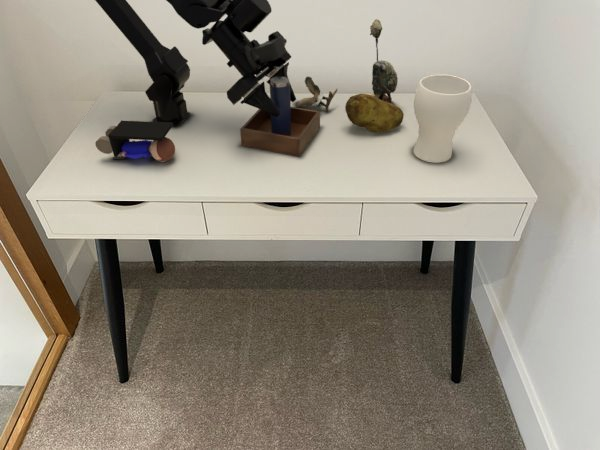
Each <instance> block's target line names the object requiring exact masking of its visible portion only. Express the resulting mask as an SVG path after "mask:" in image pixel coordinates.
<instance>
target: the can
mask: <svg viewBox="0 0 600 450" xmlns="http://www.w3.org/2000/svg"><path fill="white" fill-rule="evenodd" d="M290 84H291V82H290V79H289V77H288V78H287V77H284V76H277V77H273V78H271V80H270V85H269V97H270V99H271V100H272V102H273V103H274V104H275V106H276V107H277V109H278V110H279V112H280V115H279V116H278V117H276V116H273V115H271V129H272V133H274V134H280V135H285V136H290V135H291V107H292V106H291V104H292V102H291V101H290Z"/></svg>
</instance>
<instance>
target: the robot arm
mask: <svg viewBox="0 0 600 450" xmlns="http://www.w3.org/2000/svg"><path fill="white" fill-rule="evenodd" d="M94 1H95V2H96V4H98V6H99V7H100V8H101V9H102V11H103V12H104V13H105V14H106V15H107V16H108V18H109V19H110V20H111V21H112V23H113V24H114V25H115V26H116V28H118V30H119V31H120V32H121V33H122V34H123V36H124V37H125V38H126V39H127V40H128V42H129V43H130V45H131V46H132V47H133V48H134V49H135V50H136V51H137V52H138V54H139V55H140V57H141V58H142V59H143V60H144V64H145V68H146V71H147V74H148V76H149V77H150V80H151V81H152V83H151V84H150V86H148V87H147V89H146V90H145V95H146V97H147V99H148V100H149V101H150V102H152V104H153V108H154V113H155V117H154V118H153V119H152V120H151V122H173V126H172V127H178V126H180V125H181V124H182V123H183V122H184V121H185V120H187V119H188V118H189V117H190V116H191V112H189V111H188V106H187V101H186V99H185V98H184V92H182V91H181V90H182V89H183V88H185V84H186V82H188V80H189V79H190V76H191V68H190V66H189V64H188V63H189V60H188V59H186V58H185V57H184V56H183V54H182V53H181V51H180V49H179V48H178V47H177V46H173V47H172V48H169V47H167V46H165V45H163V44H162V43H161V42H160V41H159V40H158V38H157V37H156V36H155V34H154V33H153V32H152V30H151V29H150V28H149V27H148V26H147V25H146V23H145V22H144V21H143V20H142V18H141V17H140V16H139V14H138V13H137V12H136V11H135V9H134V8H133V7H132V6H131V5H130V3H129V2H128V1H127V0H94ZM165 1H166V2H167V3H169V4H170V6H172V8H173V9H174V11H175V13H176V14H177V15H178V16H179V17H180V18H181V19H182V20H183V21H184V22H186V23H187V24H188V25H189V26H190V27H193V28H194V29H203V28H205V29H203V30H202V31H201V34H202V39H201V43H202V45H203V46H205V45H208V44H209V43H212V42H213V43H214V45H215V46H216V47H218V49H219V50H220V51H221V52H222V54H223V55H224V56H225V57H226V58H227V60H228V61H227V63H226V65H227V66H228V67H229V68H232V67H234V68H235V69H236V70H237V72H238V73H239V74H240V76H241V77H240V78H239V79H238V80H237V81H236V82H235V83H234V84H233V85H232V86H231V87H230V88H228V90H227V91H226V96H227V99H228V100H229V102H230V103H231V104H232V106H235V105H236V104H237V103H238V102H239V101H240V104H241V105H243V104H246V105H249V106H250V107H254V108H256V109H257V110H259V109H260V110H263V111H265V112H267V113H269V114H271V115H273V116H276V117H278V116H279V115H280V112H279V110H278V109H277V107H276V106H275V104H274V103H273V102H272V100H271V99H270V95H268V93H267V91H266V87H265V86H266V85H265V81H262V82H260V81H261V80H263V79H264V78H265V77H267V78H269V79H267V81H266V83H267V84H268V85H269V86H270V80H271V78H273V77H277V76H284V77H287V78H288V79H289V76H288V67H289V65H290V62H289V61H290V59H291V58H292V55H291V54H290V53H289V51H288V50H287V49H286V44H287V42H288V41H287V39H286V38H285V37H284V36H283V35H282V34H281V33H280V32H279V31H278V30H276V31H274V32H271V33H270V34H268V37H267V40H266V41H265V42H262V43H260V42H259V41H258V40H256V39H252V40H250V39H249V38H248V36H247V35H246V34H245V33H246V32H247V33H253V32H254V31H255V30H256V29H257V28H258V26H259V25H261V23H263V22H264V20H265V19H266V18H268V16H269V15H270V14H271V13H272V12H273V11H272V7H271V6H272V5H271V4H270V2H269V1H268V0H165ZM225 16H226V17H225ZM224 17H225V18H224ZM222 18H224V19H223V20H221V19H222ZM212 23H214V24H213V25H212V26H210V28H206V27H207V26H209V25H210V24H212ZM296 100H297V97H296V94H295V92H294V90H293V87H292V84H291V83H290V103H295V101H296Z"/></svg>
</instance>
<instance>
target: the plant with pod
mask: <svg viewBox="0 0 600 450" xmlns="http://www.w3.org/2000/svg"><path fill="white" fill-rule="evenodd" d="M369 29H370V34H369V36H372V37H373V38H375V47H376V61H375V62H374V63H373V64H372V73H371V75H372V76H371V77H372V80H371V86H372V88H371V89H372V91H373V93H371V95H372V96H374V97H376V98H378V99H380V100H383V101H385V102H388V103H391V104H393V105H396V106H397V107H398V105H397V104H396V103H395V102H394V100H393V99H392V95H391V94H392V93H395V92H396V89H397V88H398V87H397V86H398V73H397V72H396V70H395V67H394V66H393V64H392V63H390V62H389V61H387V60H379V49H378V45H379V44H378V43H379V38H380V36H381V34H382V31H383V26H382V23H381V21H380V20H379V19H377V18H376V19H374V20H373V22H372V24H371V25H370V26H369Z"/></svg>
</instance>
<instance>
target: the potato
mask: <svg viewBox="0 0 600 450" xmlns="http://www.w3.org/2000/svg"><path fill="white" fill-rule="evenodd" d="M396 105H397V104H396ZM396 105H393V104H391V103H388V102H385V101H383V100H380V99H378V98H376V97H374V96H372V94H368V93H358V94H354V95H351V96H350V97H349V98H348V99H347V101H346V103H345V107H344V109H345V110H344V111H345V113H346V116H347V118H348V120H349V121H350V122H351V124H353V125H354V126H357V127H358V128H361V129H365V130H367V131H369V132H373V133H386V132H390V131H393V130H394V129H396V128H398V127H399V126H400V125H401V124H403V121H404V116H405V115H404V111H403V110H402V109H401V107H400V106H398V105H397V106H396Z"/></svg>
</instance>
